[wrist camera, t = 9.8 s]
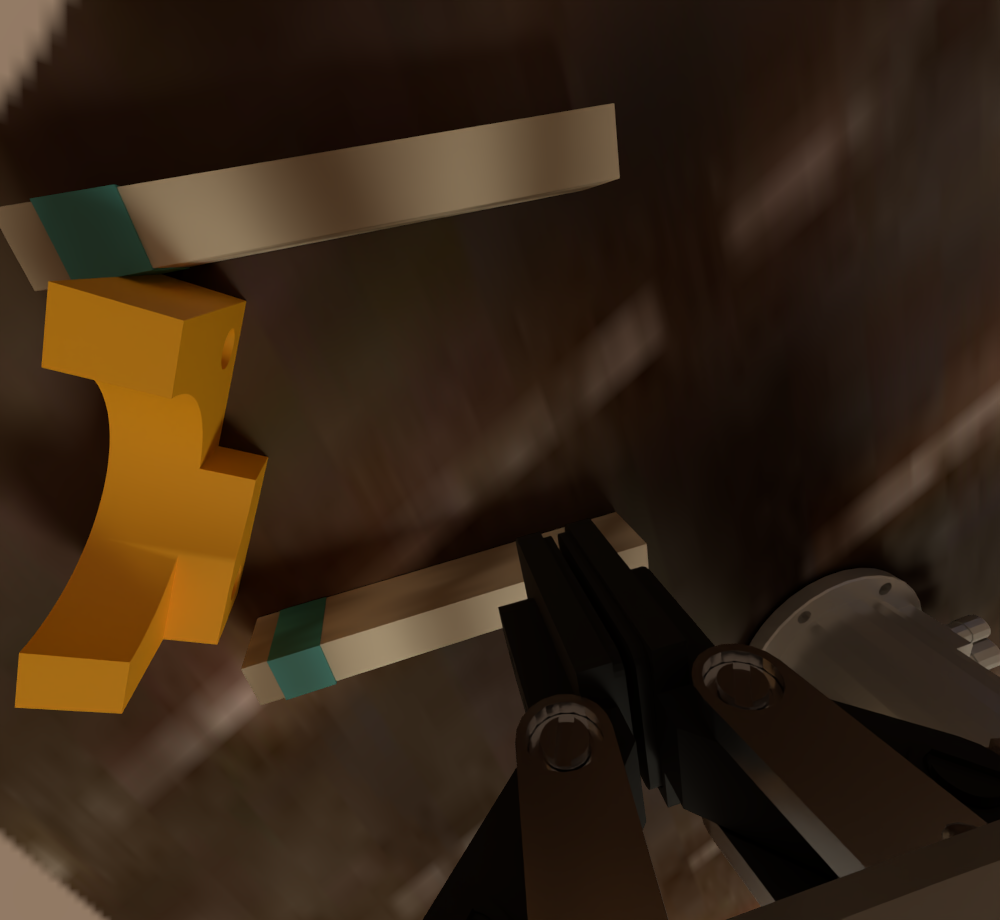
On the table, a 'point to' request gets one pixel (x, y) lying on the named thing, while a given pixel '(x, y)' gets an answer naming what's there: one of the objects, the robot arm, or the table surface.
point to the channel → (313, 218)
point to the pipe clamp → (146, 487)
